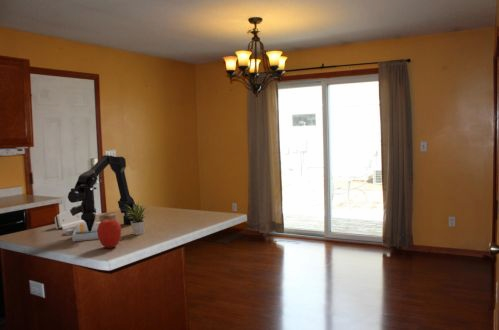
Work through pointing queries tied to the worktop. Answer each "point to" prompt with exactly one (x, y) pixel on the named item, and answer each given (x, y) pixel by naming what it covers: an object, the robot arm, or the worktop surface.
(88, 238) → the tray
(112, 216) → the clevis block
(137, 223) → the house plant
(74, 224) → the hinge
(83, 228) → the beige and orange bar
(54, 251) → the worktop surface
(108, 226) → the red jar
